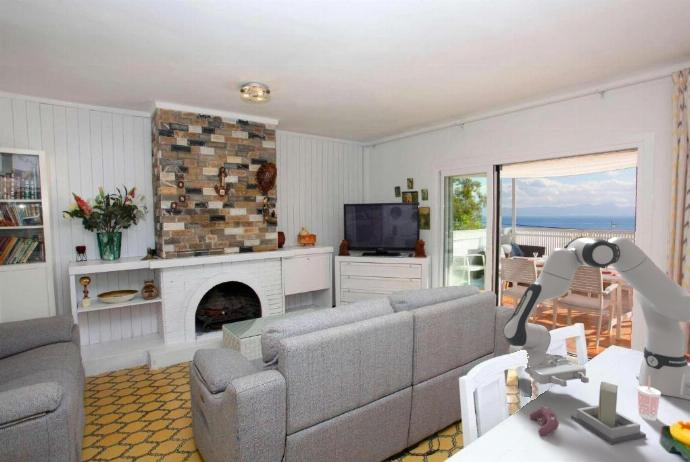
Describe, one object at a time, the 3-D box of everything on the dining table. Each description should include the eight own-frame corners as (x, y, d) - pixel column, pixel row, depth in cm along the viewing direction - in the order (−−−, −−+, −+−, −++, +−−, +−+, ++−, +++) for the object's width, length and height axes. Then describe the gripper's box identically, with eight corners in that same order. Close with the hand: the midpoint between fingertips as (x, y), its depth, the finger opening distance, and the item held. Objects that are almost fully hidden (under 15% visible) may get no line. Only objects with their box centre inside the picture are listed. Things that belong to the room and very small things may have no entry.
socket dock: (602, 412, 124) (602, 402, 124) (645, 437, 110) (646, 426, 110) (571, 418, 120) (571, 407, 120) (612, 444, 107) (612, 433, 107)
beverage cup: (658, 414, 122) (660, 374, 121) (661, 424, 117) (663, 381, 116) (634, 409, 125) (636, 369, 124) (636, 418, 120) (638, 376, 119)
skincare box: (599, 417, 119) (600, 380, 118) (616, 422, 116) (617, 385, 116) (597, 426, 114) (598, 388, 114) (615, 431, 112) (616, 392, 111)
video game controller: (552, 442, 111) (564, 423, 110) (538, 434, 111) (549, 415, 110) (540, 423, 120) (551, 406, 119) (527, 416, 121) (538, 398, 120)
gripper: (521, 360, 136) (551, 377, 123) (566, 354, 142) (599, 370, 128) (521, 377, 137) (551, 395, 123) (565, 370, 142) (598, 387, 129)
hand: (576, 382), depth 126 cm, fingers open, 8 cm apart
